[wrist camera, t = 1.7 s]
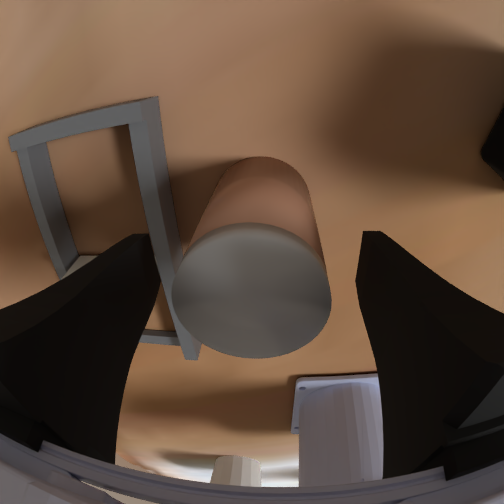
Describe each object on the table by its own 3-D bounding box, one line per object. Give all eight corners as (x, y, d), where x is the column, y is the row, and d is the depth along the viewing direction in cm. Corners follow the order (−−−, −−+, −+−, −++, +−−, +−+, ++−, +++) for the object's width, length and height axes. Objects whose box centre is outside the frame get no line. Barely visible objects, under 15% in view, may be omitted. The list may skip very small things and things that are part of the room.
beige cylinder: (208, 464, 35) (200, 509, 29) (215, 450, 31) (207, 502, 25) (257, 472, 35) (254, 516, 29) (272, 458, 31) (269, 510, 26)
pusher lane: (202, 341, 20) (196, 365, 18) (102, 332, 21) (92, 353, 19) (158, 95, 12) (139, 101, 10) (32, 126, 13) (8, 137, 11)
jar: (308, 243, 15) (323, 357, 10) (219, 244, 16) (187, 355, 10) (311, 156, 13) (339, 237, 7) (209, 158, 13) (155, 239, 8)
